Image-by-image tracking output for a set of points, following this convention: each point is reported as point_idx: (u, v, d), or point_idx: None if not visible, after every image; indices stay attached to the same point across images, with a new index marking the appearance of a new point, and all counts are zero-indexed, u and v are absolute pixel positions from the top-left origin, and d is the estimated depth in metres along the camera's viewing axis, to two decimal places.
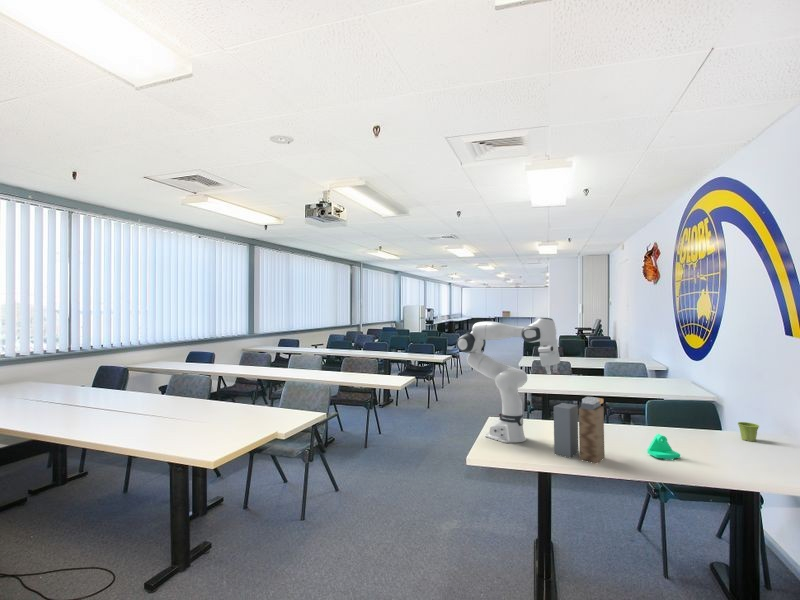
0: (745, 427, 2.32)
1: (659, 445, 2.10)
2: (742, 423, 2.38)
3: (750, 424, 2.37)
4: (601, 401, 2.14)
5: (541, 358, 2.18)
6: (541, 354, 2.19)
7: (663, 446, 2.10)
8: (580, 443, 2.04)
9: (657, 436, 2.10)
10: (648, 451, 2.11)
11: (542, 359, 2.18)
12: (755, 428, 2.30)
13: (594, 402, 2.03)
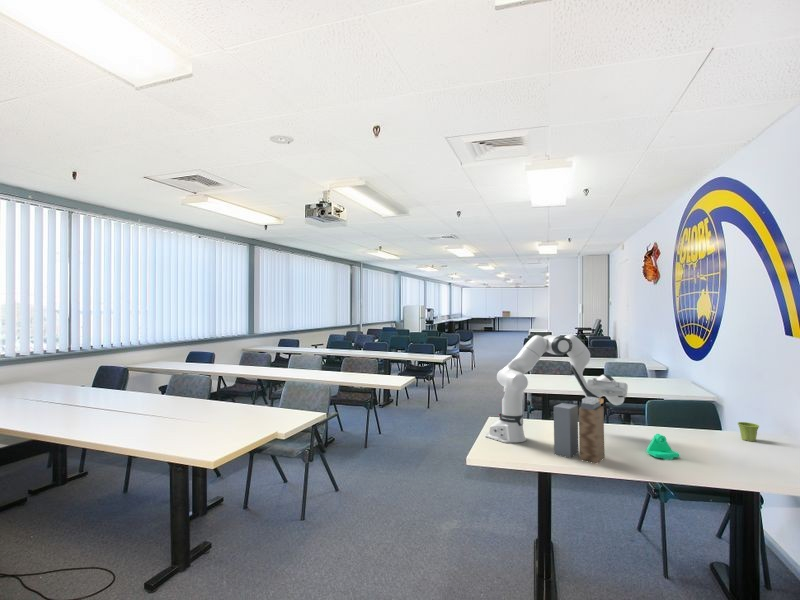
0: (745, 427, 2.32)
1: (658, 445, 2.11)
2: (742, 423, 2.38)
3: (750, 424, 2.37)
4: (601, 401, 2.14)
5: (627, 386, 2.28)
6: None
7: (662, 446, 2.11)
8: (580, 443, 2.04)
9: (656, 436, 2.11)
10: (647, 451, 2.11)
11: (627, 386, 2.27)
12: (755, 428, 2.30)
13: (594, 402, 2.03)
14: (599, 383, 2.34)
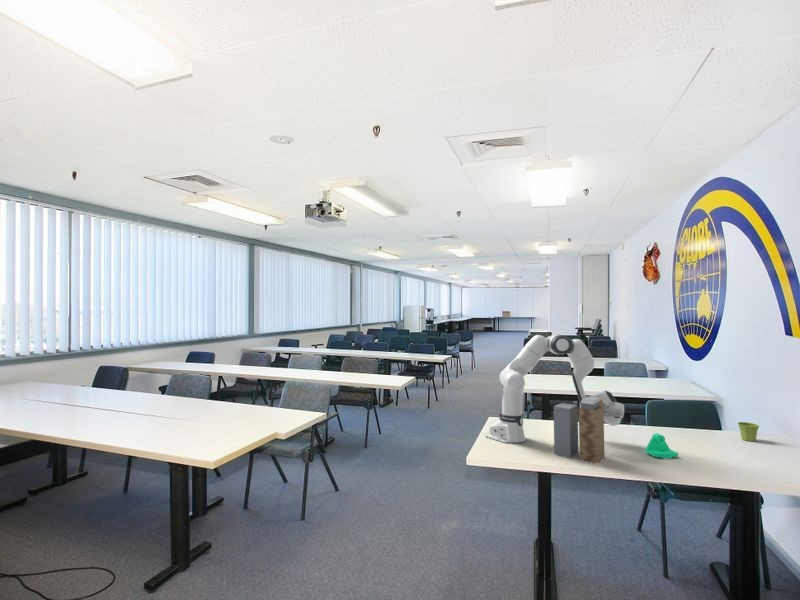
0: (745, 427, 2.32)
1: (657, 444, 2.12)
2: (742, 423, 2.38)
3: (750, 424, 2.37)
4: None
5: None
6: None
7: (661, 445, 2.12)
8: (580, 443, 2.04)
9: (655, 435, 2.12)
10: (646, 450, 2.12)
11: (623, 406, 2.13)
12: (755, 428, 2.30)
13: (594, 402, 2.03)
14: None
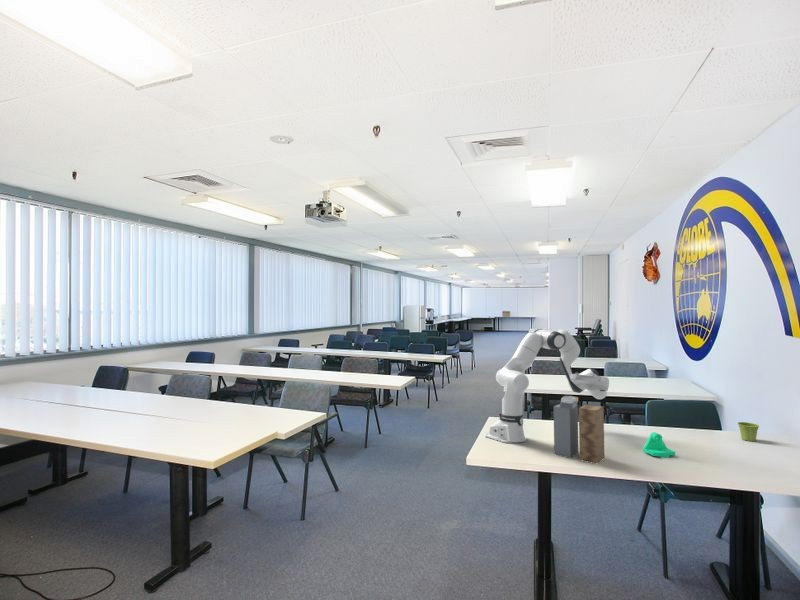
0: (745, 427, 2.32)
1: (654, 443, 2.14)
2: (742, 423, 2.38)
3: (750, 424, 2.37)
4: (576, 400, 2.22)
5: (608, 380, 2.36)
6: None
7: (658, 444, 2.14)
8: (580, 443, 2.04)
9: (652, 434, 2.14)
10: (644, 449, 2.13)
11: (608, 380, 2.36)
12: (755, 428, 2.30)
13: (572, 401, 2.10)
14: (582, 377, 2.43)
